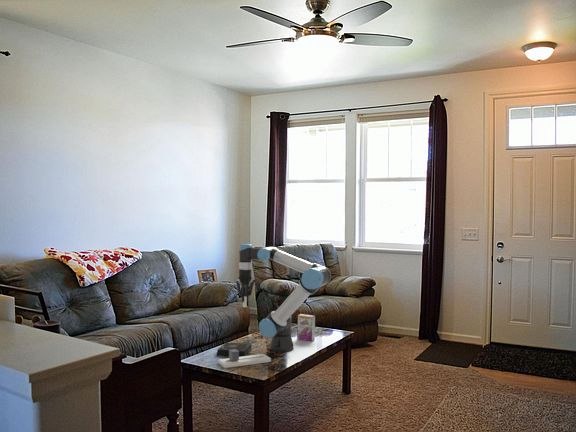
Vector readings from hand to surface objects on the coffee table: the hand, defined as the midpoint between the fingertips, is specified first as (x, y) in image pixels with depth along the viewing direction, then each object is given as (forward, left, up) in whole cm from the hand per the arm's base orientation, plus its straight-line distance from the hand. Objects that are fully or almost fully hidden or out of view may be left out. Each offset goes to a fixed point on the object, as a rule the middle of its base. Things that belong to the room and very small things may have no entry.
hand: (244, 306), depth 318 cm
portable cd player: (+8, +4, -27) cm, 29 cm away
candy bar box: (-47, -5, -27) cm, 54 cm away
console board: (+10, +25, -26) cm, 38 cm away
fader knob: (+17, +25, -24) cm, 38 cm away
